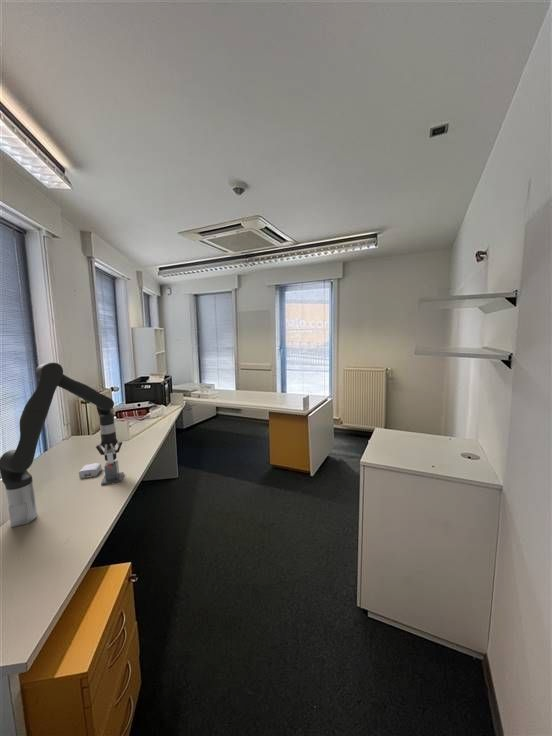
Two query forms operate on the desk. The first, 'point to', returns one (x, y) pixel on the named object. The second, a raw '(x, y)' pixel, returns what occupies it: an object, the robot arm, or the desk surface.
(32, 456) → the robot arm
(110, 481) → the stand
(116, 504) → the desk surface
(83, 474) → the charger
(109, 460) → the column
